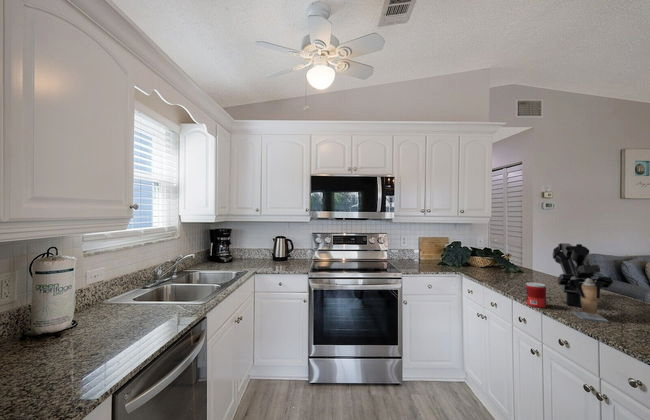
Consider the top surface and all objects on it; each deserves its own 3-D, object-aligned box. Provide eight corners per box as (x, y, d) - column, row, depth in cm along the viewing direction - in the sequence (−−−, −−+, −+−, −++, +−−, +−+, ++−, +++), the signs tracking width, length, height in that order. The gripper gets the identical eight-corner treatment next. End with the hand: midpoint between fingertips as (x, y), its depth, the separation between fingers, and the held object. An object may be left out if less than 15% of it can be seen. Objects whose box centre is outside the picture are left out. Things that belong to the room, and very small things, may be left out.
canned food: (549, 308, 138) (549, 286, 138) (531, 307, 140) (530, 285, 140) (540, 303, 146) (540, 282, 146) (523, 302, 147) (523, 282, 147)
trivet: (572, 313, 132) (572, 311, 132) (597, 315, 129) (597, 313, 129) (582, 319, 124) (582, 318, 124) (608, 322, 120) (608, 320, 120)
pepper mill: (580, 309, 130) (579, 276, 130) (594, 311, 127) (594, 277, 127) (584, 313, 125) (584, 279, 125) (599, 314, 123) (598, 280, 123)
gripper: (559, 257, 133) (570, 286, 123) (610, 259, 126) (626, 290, 116) (553, 270, 141) (562, 298, 130) (601, 272, 134) (615, 303, 124)
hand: (590, 297), depth 125 cm, fingers closed on pepper mill, 5 cm apart
